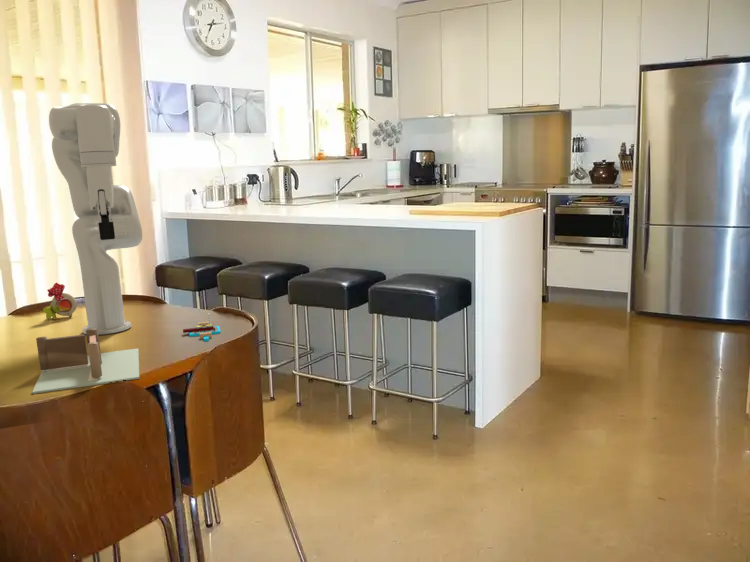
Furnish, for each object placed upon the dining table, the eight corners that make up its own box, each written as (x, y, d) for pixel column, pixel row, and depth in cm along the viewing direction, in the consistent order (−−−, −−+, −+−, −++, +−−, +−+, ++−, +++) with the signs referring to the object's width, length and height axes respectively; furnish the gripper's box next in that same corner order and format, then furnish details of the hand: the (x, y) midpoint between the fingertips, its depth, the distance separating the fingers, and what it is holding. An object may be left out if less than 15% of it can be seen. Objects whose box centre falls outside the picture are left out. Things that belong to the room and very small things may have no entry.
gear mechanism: (184, 345, 165) (222, 341, 168) (182, 324, 164) (221, 320, 167) (183, 328, 184) (217, 324, 187) (181, 309, 183) (215, 305, 186)
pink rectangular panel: (100, 363, 148) (97, 332, 146) (102, 377, 138) (98, 343, 136) (91, 365, 147) (87, 333, 146) (91, 378, 137) (87, 345, 136)
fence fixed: (41, 370, 146) (36, 335, 145) (102, 362, 150) (97, 327, 149) (40, 373, 144) (35, 337, 143) (101, 364, 148) (97, 329, 147)
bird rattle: (72, 321, 209) (41, 312, 206) (83, 288, 209) (53, 279, 206) (69, 325, 203) (38, 317, 200) (81, 291, 203) (49, 282, 200)
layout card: (47, 361, 155) (47, 359, 155) (138, 349, 161) (138, 347, 161) (32, 394, 131) (32, 391, 131) (139, 378, 138) (139, 376, 138)
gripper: (83, 161, 160) (92, 238, 163) (78, 160, 146) (88, 243, 149) (116, 160, 162) (125, 235, 165) (114, 158, 148) (124, 240, 151)
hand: (107, 239), depth 157 cm, fingers closed
